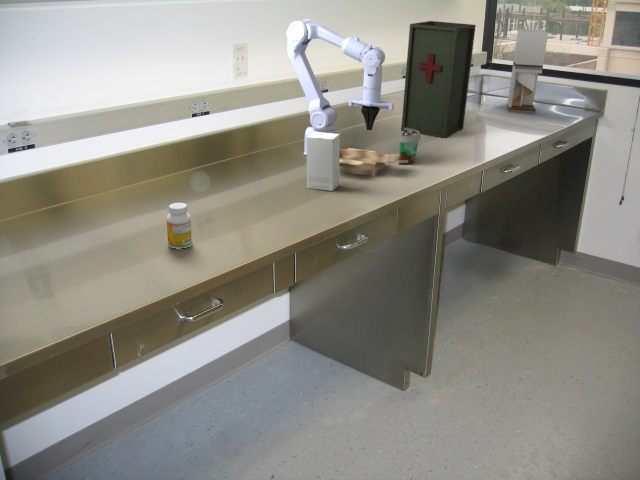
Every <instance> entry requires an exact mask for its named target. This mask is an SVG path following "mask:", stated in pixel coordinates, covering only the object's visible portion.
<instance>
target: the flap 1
mask: <svg viewBox="0 0 640 480" xmlns="http://www.w3.org/2000/svg"><path fill="white" fill-rule="evenodd" d="M339 163H344V164H351V165H358V166H361V165H363V164H364V163H365V162H363V161H356V160H349V159H341V158H339Z"/></svg>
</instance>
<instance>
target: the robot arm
mask: <svg viewBox="0 0 640 480" xmlns="http://www.w3.org/2000/svg"><path fill="white" fill-rule="evenodd" d="M285 35H286V37H287V43H286V51H287V52H286V53H287V56H288V58H289V60H290V63H291V65H292V68H293V70H294V72H295V74H296V77H297V79H298V81H299V84H300V86H301V88H302V91H303V93H304V95H305V98H306V100H307V101H308V103H309V105H308V113H309V117H310V118H309V121H310V125H311V126H307V128H306V129H305V134H304V152H303V155H304V156H305V155H306V156H307V137H308V136H309V135H310V134H312V133H313V132H323V133H334V134H335V126H334V123H335V122H336V120H337V118H338V113H337V111H336V109H335V108H334V107H333V106H332V105H331V103H330V101H329V100H328V99H327V98H325V96H324V94H323V92H322V90H321V87H320V84H319V83H318V80H317V78H316V75H315V74H314V71H313V68H312V67H311V64H310V62H309V60H308V58H307V54H306V50H307V47H308V46H309V43H310V42H311V41H312V40H314V39H320V40H322V41H325V42H327V43H329V44H332V45H334V46H337V47H338V48H340V49H341V50H342V53H343V54H344V55H345V56H347V57H349V58H351V59H353V60H355V61H358V62H360V63H362V64H363V66H364V67H363V68H364V71H363V85H362V86H363V87H362V98H350V99H348V106H349V107H352V106H354V107H361V108H360V111H361V114H362V116H363V119H364V122H365V127H366V131H372V130H373V127H374V123H375V121H376V119H377V116H378V114H379V112H380V110H389V111H393V110H394V106H395V103H393V102H387V101H383V100H381V96H382V95H381V93H382V80H383V64H384V62H385V60H386V53H385V52H384V50H383V49H382V48H380V47H379V46H376V47H375V46H374V47H373V44H371V43H369V44H367V43H366V42H364V41H361V40H360V37H358V36H355V37H354V36H350V37H347V38H346V37H344V36H343V35H342V34H339V33H337V32H336V31H334V30H332V29H330V28H328V27H326V26H325V25H322V24H321V23H319V22H317V21H313V20H312V19H307V18H306V19H303V20H299V21H298V20H295V21H293V22H291V24H289V26H288V28H287V30H286V33H285Z"/></svg>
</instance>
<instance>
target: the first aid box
mask: <svg viewBox="0 0 640 480" xmlns="http://www.w3.org/2000/svg"><path fill="white" fill-rule="evenodd" d="M476 26H477V25H476V24H470V23H461V22H460V23H459V22H457V23H456V22H446V21H438V20H437V21H436V20H435V21H433V20H428V21H421V22H413V23H410V24H409V30H408V31H409V33H408V44H407V57H406V69H405V78H404V79H405V80H404V81H405V82H404V93H403V102H402V103H403V104H402V117H401V130H400V131H401V132H404V128H411V129H415V130H417V131H419V133H420V135H423V136H427V135H428V136H429V137H433V136H434V138H439V137H440V138H441V139H444V138H445V139H447V138H450V137H451V136H453V135H455V134H457V133H459V132H461V131H463V130H464V123H465V117H466V108H467V99H468V92H469V91H468V90H469V84H470V82H469V81H470V75H471V66H472V58H473V50H474V41H475V34H476V33H475V32H476ZM462 129H463V130H462ZM460 130H461V131H460ZM458 131H459V132H458ZM456 132H457V133H456ZM454 133H455V134H454ZM452 134H453V135H452Z"/></svg>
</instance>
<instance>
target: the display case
mask: <svg viewBox="0 0 640 480" xmlns="http://www.w3.org/2000/svg"><path fill="white" fill-rule="evenodd" d="M549 34H550V33H549V32H548V31H547V32H546V30H545V29H531V28H518V29H517V34H516V43H515V47H514V48H515V49H514V54H513V61H512V69H511V77H510V83H509V90H508V97H507V103H506V109H507V111H508V113H511V112H515V114H516V113H517V114H526V113H529V114H531V115H536V112H537V111H536V110H537V109H536V107H535V106H534V101H535V95H536V89H537V84H538V77H539V74H540V75H542V74H543V68H544V62H545V56H546V50H547V43H548V38H549Z"/></svg>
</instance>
